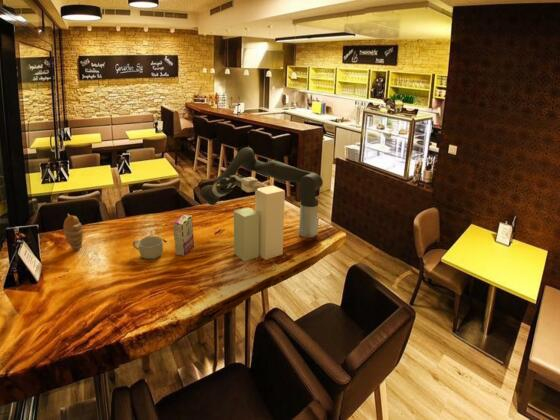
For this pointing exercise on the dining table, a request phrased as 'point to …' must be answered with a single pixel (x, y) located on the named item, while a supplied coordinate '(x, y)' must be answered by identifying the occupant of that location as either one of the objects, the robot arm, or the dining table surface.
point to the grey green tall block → (246, 233)
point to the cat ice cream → (73, 232)
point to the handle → (246, 183)
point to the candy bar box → (183, 235)
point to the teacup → (149, 247)
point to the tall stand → (270, 220)
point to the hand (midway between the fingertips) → (238, 178)
